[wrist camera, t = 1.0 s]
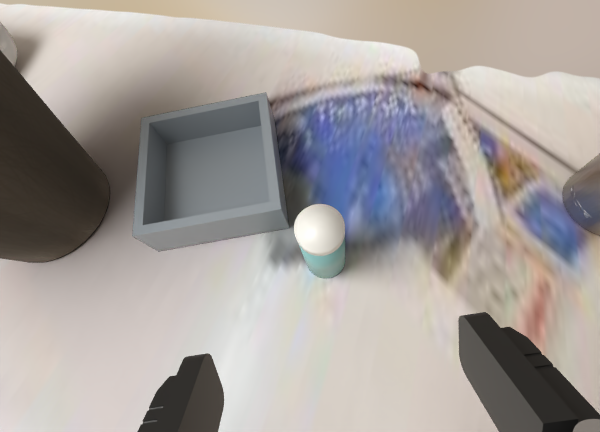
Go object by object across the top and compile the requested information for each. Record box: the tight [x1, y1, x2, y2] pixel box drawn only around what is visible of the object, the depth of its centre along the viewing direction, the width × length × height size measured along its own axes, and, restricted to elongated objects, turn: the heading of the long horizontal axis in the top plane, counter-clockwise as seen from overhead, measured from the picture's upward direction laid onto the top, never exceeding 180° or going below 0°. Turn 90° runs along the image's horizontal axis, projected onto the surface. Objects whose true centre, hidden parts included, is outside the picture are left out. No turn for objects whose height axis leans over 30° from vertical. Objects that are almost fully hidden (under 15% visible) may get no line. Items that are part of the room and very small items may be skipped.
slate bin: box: [132, 93, 289, 251], centre depth 45 cm, size 18×18×6 cm
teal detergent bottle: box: [294, 204, 345, 278], centre depth 36 cm, size 5×5×11 cm
